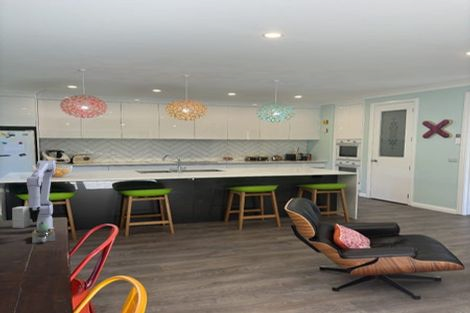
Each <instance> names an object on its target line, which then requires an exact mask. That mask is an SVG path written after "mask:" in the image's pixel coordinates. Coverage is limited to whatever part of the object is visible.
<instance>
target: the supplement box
mask: <svg viewBox="0 0 470 313" xmlns="http://www.w3.org/2000/svg"><path fill="white" fill-rule="evenodd" d="M29 208H31V207H26V206H16V207H12V208H11V209H12V212H11V214H12V220H11V221H12V229H14V228H19V229H24V228H27V227H29V226H31V214H30V212H29Z"/></svg>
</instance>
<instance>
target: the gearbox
mask: <svg viewBox="0 0 470 313" xmlns="http://www.w3.org/2000/svg"><path fill="white" fill-rule="evenodd" d="M31 235H32V239H31V241H32V244H39V243H47V242H55V241H56V234H55V230H54V229H52V228H48V232H39V233H38V229H37V228H36V229H34V230H33V231H32V234H31Z"/></svg>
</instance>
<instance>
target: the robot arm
mask: <svg viewBox="0 0 470 313" xmlns="http://www.w3.org/2000/svg"><path fill="white" fill-rule="evenodd" d="M56 166H57V164H56V160H39V159H38V161H37V163H36V168H37V169H35V170H34V171H33V173H32V174H31V175H30V176H29V177H27V179H26V186H27V191H28V204H27V205H25V207H30V208H29V212H30V218H31V222H32V223H36V230H37V229H38V224H39V223H41V221H43V223H48V228H52V230H54V229H55V227H54V226H53V224H54V223H53V221H54V220H53V219H54V218H53V216H52V215H53V212H54V205H53V203H52V201H51V200H50V201H49V198H50V192H51V182H52V177H53V175H55V174H56V168H57V167H56Z"/></svg>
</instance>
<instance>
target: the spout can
mask: <svg viewBox="0 0 470 313" xmlns="http://www.w3.org/2000/svg"><path fill="white" fill-rule="evenodd" d="M39 232H48V223H43V221H41V223H39V224H38V233H39Z"/></svg>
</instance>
